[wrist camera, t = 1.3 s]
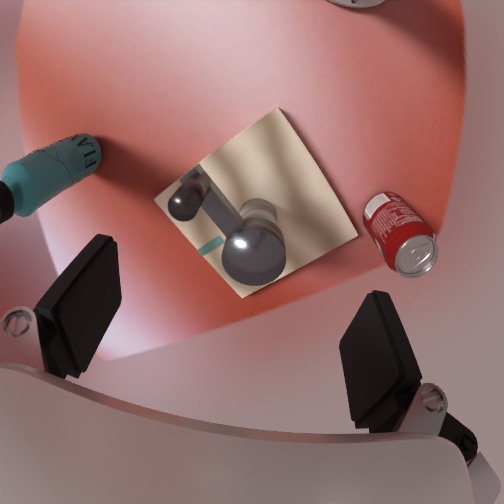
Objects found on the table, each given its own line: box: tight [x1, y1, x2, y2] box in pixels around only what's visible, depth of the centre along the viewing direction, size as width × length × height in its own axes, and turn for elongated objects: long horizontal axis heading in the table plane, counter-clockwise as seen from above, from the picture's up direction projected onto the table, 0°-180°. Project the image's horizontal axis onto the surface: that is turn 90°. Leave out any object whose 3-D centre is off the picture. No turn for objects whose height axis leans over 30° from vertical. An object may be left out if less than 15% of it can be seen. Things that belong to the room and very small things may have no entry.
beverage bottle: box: [0, 134, 101, 224], centre depth 26 cm, size 6×7×20 cm
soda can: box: [363, 192, 438, 278], centre depth 33 cm, size 7×7×12 cm
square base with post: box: [154, 108, 358, 298], centre depth 35 cm, size 20×20×8 cm
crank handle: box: [168, 164, 286, 286], centre depth 27 cm, size 14×6×7 cm, turn 35°
